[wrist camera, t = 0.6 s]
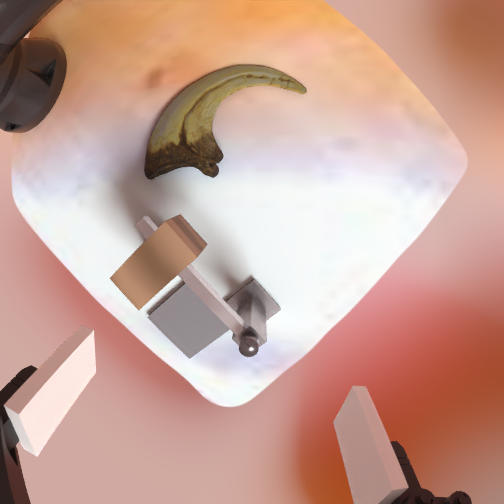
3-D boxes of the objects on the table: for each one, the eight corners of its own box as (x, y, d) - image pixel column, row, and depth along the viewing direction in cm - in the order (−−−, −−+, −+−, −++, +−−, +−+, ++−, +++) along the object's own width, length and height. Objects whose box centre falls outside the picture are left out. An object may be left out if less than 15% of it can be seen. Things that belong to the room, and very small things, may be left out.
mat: (148, 315, 38) (147, 317, 37) (189, 279, 37) (188, 281, 36) (190, 356, 39) (189, 358, 39) (233, 324, 38) (232, 326, 37)
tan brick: (170, 274, 37) (138, 310, 26) (149, 250, 36) (109, 278, 25) (215, 233, 35) (197, 257, 25) (193, 208, 35) (165, 221, 24)
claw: (188, 208, 35) (180, 210, 32) (130, 153, 34) (118, 150, 30) (304, 91, 32) (308, 82, 28) (242, 40, 30) (240, 28, 27)
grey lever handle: (152, 225, 35) (114, 242, 25) (180, 196, 34) (150, 204, 24) (249, 330, 38) (246, 378, 28) (280, 307, 37) (286, 351, 27)
